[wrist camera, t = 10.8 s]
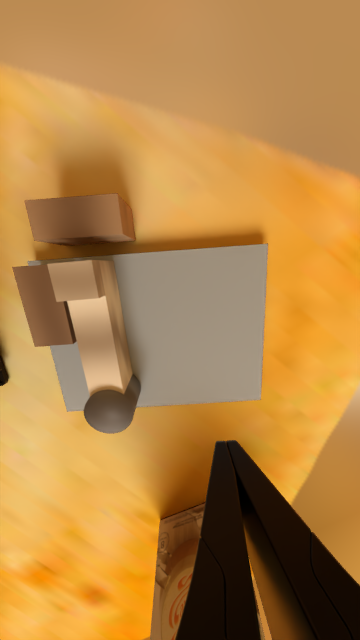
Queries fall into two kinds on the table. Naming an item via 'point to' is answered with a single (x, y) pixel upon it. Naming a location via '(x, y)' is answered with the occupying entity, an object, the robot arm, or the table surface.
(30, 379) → the table surface
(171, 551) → the coffee box
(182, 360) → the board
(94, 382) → the leg
